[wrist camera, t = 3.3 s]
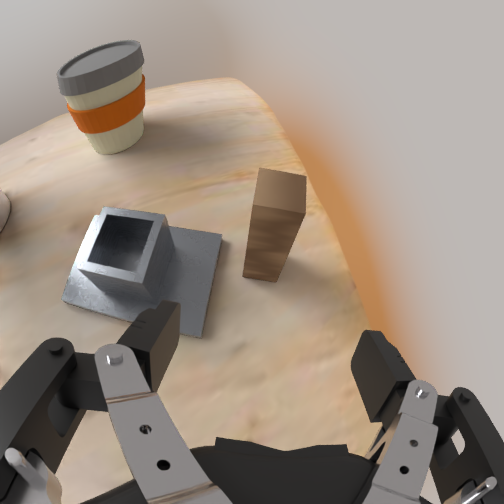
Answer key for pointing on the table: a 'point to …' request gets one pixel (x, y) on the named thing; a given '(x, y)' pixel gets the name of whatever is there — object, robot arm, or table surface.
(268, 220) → the brown square block
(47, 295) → the table surface
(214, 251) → the grey square tube bracket
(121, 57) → the reusable coffee cup
